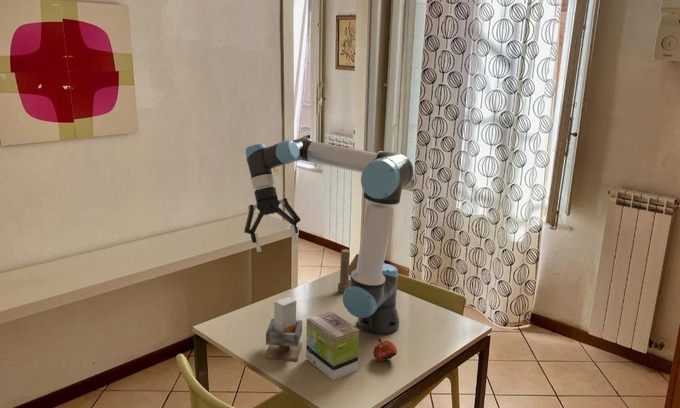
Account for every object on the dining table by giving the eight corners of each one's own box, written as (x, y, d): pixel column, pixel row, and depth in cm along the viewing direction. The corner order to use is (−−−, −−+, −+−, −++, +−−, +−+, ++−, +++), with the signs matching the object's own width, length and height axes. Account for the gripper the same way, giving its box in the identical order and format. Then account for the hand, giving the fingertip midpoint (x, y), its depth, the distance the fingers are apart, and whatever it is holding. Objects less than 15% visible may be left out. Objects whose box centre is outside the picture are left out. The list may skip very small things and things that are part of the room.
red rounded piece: (399, 368, 178) (389, 340, 183) (403, 360, 172) (393, 331, 177) (377, 373, 176) (368, 344, 181) (381, 365, 170) (371, 335, 176)
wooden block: (361, 287, 234) (363, 247, 229) (343, 294, 226) (345, 252, 222) (355, 284, 236) (357, 244, 232) (337, 291, 229) (338, 250, 224)
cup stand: (301, 344, 186) (302, 320, 184) (297, 360, 176) (297, 335, 174) (271, 342, 186) (271, 318, 184) (265, 358, 177) (265, 333, 174)
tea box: (304, 359, 177) (305, 317, 173) (329, 350, 183) (331, 309, 179) (332, 381, 166) (334, 337, 162) (358, 371, 171) (360, 328, 168)
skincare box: (282, 340, 176) (282, 305, 173) (273, 335, 179) (273, 301, 176) (296, 333, 181) (296, 300, 178) (287, 329, 184) (288, 296, 180)
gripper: (293, 184, 202) (306, 240, 201) (227, 196, 192) (240, 255, 191) (300, 180, 195) (314, 238, 194) (232, 193, 185) (246, 254, 184)
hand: (277, 247), depth 193 cm, fingers open, 13 cm apart
